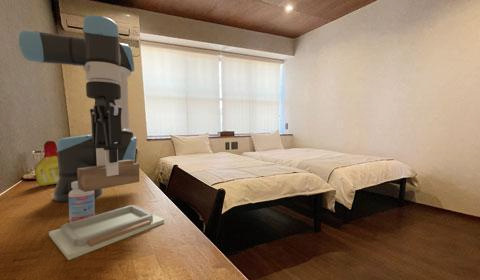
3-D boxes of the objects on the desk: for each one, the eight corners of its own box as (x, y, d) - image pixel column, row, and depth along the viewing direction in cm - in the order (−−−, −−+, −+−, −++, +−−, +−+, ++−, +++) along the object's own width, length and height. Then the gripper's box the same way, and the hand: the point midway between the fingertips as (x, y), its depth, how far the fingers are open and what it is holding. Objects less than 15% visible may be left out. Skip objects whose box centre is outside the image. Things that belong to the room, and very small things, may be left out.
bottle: (36, 188, 96) (33, 142, 94) (35, 185, 100) (32, 141, 99) (71, 182, 105) (68, 140, 103) (68, 180, 109) (65, 139, 107)
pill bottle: (70, 226, 59) (69, 185, 59) (68, 220, 64) (66, 181, 63) (97, 220, 64) (95, 181, 63) (92, 214, 68) (91, 178, 68)
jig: (49, 235, 55) (48, 225, 55) (136, 209, 72) (136, 201, 72) (68, 260, 45) (67, 248, 45) (164, 222, 62) (164, 214, 62)
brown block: (77, 188, 55) (77, 164, 55) (130, 179, 65) (130, 158, 65) (85, 191, 52) (84, 166, 51) (139, 181, 62) (139, 160, 62)
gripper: (74, 84, 59) (79, 171, 60) (101, 75, 48) (106, 182, 49) (105, 88, 65) (109, 167, 66) (135, 80, 53) (139, 176, 55)
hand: (107, 173), depth 58 cm, fingers closed on brown block, 5 cm apart
